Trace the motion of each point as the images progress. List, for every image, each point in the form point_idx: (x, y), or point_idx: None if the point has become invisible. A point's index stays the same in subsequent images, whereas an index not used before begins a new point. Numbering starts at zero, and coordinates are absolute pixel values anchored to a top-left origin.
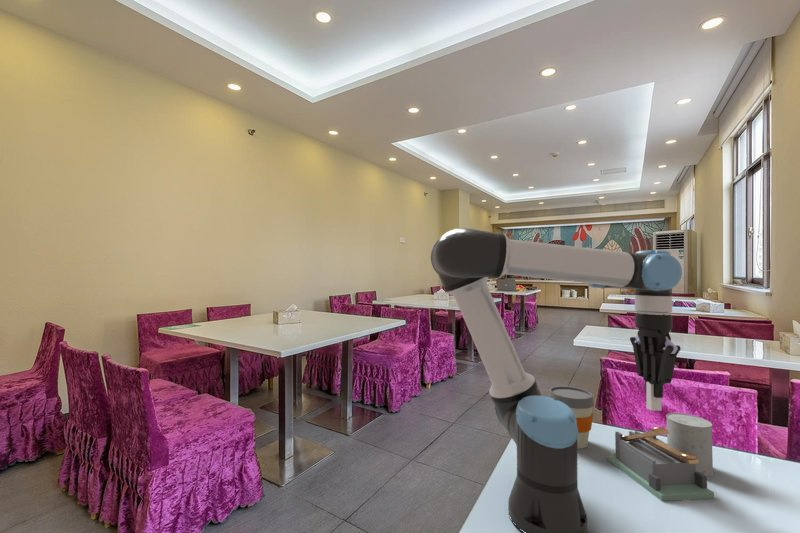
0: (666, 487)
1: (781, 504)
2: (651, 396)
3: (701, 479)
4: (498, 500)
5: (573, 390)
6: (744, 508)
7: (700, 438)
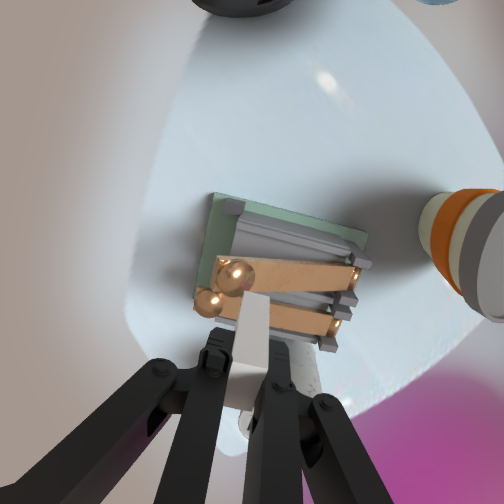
0: (230, 231)
1: None
2: (238, 322)
3: None
4: None
5: None
6: (164, 306)
7: None
